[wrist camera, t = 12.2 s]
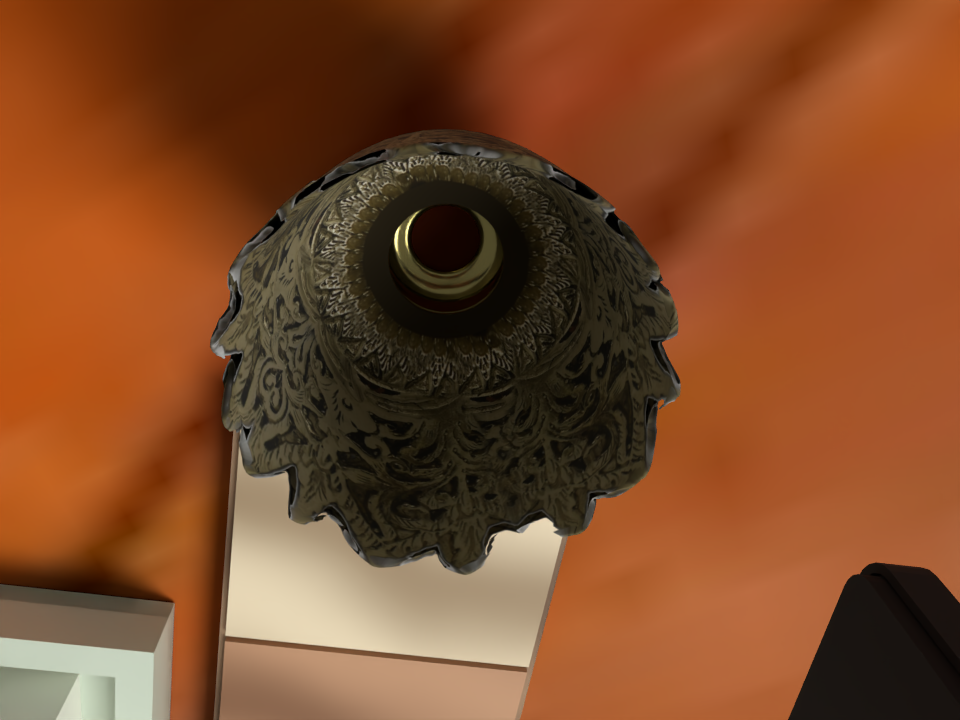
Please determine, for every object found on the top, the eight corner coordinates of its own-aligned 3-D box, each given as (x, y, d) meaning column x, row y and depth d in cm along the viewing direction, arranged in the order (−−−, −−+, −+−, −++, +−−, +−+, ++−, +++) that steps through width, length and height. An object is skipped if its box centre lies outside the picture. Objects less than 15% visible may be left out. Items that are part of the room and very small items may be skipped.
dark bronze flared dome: (547, 27, 19) (612, 70, 12) (635, 320, 22) (730, 498, 15) (235, 145, 20) (118, 253, 13) (361, 412, 23) (325, 624, 16)
